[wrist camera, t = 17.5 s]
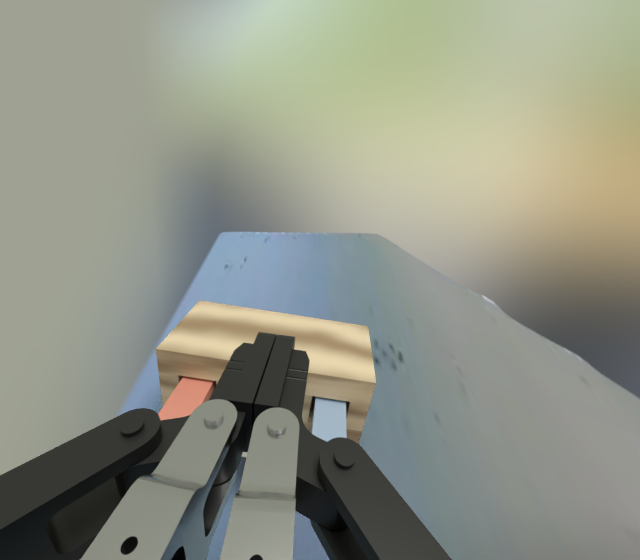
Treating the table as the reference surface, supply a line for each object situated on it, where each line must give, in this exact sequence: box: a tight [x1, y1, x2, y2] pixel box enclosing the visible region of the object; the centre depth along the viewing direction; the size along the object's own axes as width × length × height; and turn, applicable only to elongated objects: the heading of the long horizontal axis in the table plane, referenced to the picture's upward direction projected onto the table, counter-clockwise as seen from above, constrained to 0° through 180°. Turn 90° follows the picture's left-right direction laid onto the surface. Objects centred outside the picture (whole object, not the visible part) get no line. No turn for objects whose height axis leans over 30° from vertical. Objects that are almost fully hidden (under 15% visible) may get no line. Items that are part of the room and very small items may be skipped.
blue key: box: [310, 396, 347, 442], centre depth 32 cm, size 11×3×3 cm, turn 175°
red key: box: [158, 376, 216, 420], centre depth 32 cm, size 11×3×3 cm, turn 175°
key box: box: [156, 301, 376, 444], centre depth 37 cm, size 10×22×14 cm, turn 85°
